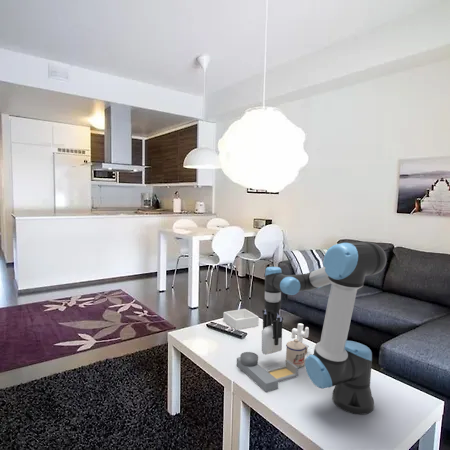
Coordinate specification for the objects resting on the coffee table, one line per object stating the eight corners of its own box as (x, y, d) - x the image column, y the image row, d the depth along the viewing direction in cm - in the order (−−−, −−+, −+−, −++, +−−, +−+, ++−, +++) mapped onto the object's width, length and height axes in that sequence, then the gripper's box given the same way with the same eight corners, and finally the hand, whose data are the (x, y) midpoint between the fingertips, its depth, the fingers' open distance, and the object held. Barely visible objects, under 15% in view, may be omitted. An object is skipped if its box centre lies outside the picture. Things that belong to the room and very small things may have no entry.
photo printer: (265, 355, 152) (266, 329, 151) (260, 352, 156) (260, 326, 155) (283, 351, 157) (283, 325, 156) (277, 347, 161) (278, 322, 160)
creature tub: (258, 326, 204) (258, 316, 204) (235, 330, 197) (236, 320, 196) (244, 317, 218) (245, 308, 218) (223, 321, 211) (223, 312, 211)
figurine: (295, 347, 177) (296, 319, 176) (311, 353, 170) (312, 324, 169) (287, 351, 172) (288, 322, 171) (302, 357, 165) (304, 328, 164)
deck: (304, 380, 144) (305, 366, 144) (263, 392, 134) (264, 377, 134) (271, 356, 165) (272, 343, 165) (234, 365, 155) (235, 352, 155)
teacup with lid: (294, 369, 153) (295, 345, 152) (281, 361, 161) (282, 337, 160) (313, 363, 159) (314, 340, 158) (299, 355, 167) (300, 333, 166)
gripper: (291, 304, 149) (289, 354, 150) (268, 294, 164) (267, 341, 166) (277, 306, 146) (276, 358, 147) (255, 296, 161) (254, 343, 162)
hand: (271, 349), depth 156 cm, fingers closed on photo printer, 4 cm apart
